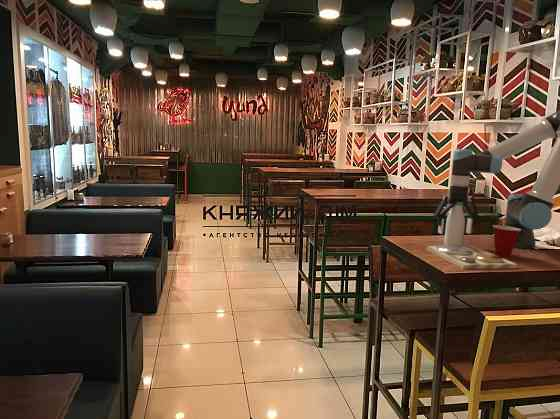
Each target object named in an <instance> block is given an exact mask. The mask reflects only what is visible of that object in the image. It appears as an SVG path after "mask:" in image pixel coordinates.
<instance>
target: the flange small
mask: <svg viewBox="0 0 560 419" xmlns="http://www.w3.org/2000/svg"><path fill="white" fill-rule="evenodd" d="M461 261H463V262H467V263H475V259H473V258H469V257H462V258H461Z"/></svg>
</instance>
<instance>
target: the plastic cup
mask: <svg viewBox="0 0 560 419" xmlns="http://www.w3.org/2000/svg"><path fill="white" fill-rule="evenodd" d="M492 228H493V238H494V240H493V241H494V242H493V243H494V253H495V254H494V255H496V256H499V257H511V256H512V253H513V249H514V248H515V247H514V245H515V242H516V238H517V236H518V234H519V232H520V231H521V229H518V228H514V227H508V226H505V225H501V224H498V225H497V224H493V225H492Z"/></svg>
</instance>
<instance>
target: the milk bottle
mask: <svg viewBox="0 0 560 419" xmlns="http://www.w3.org/2000/svg"><path fill="white" fill-rule="evenodd" d="M457 205H458V206H457ZM462 205H463V202H458V203H456V205H455V206H454V207H453V208H451V209H450V210H449V213H448V215H447V218H446V221H445V222H446V223H445V230H444V232H445V233H444V239H443V240H444V242H443V245H456V246H464V235H465V225H466V219H465V215H464V210H463V206H462Z"/></svg>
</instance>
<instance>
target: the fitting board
mask: <svg viewBox="0 0 560 419" xmlns="http://www.w3.org/2000/svg"><path fill="white" fill-rule="evenodd" d="M436 246H437V245H426V248H425V249H426V251H428V252H430V253H432V254H434V255H436V256H438V257H439V256H440V258H441V257H442V259H443V258H444V259H443V260H446V261H447V262H449V263H451V264H453V265H455V266H457V267H459V268H460V267H461V269H463V270H469V269H471V270H473V269H474V270H479V269H480V270H481V269H487V270H488V269H517V268H518V263H515V262H512V261H510V260H508V259H505V258H503V262H501V263H489V262H484V261H480V260H477V259H475V255H476V254H489V255H495V256H497V255H496V254H494V253H491V252H490V251H488V250H487V251H486V250H485V249H482V248H480V247H478V246H475V245H463V246H462V247H466V248H469V249H471V250H472V251H473V252H472V254H471V255H452V254H446V253H443V252H440V251H438V250H436ZM462 257H469V258H473V259H475V263H467V262H463V261H461V258H462Z"/></svg>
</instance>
